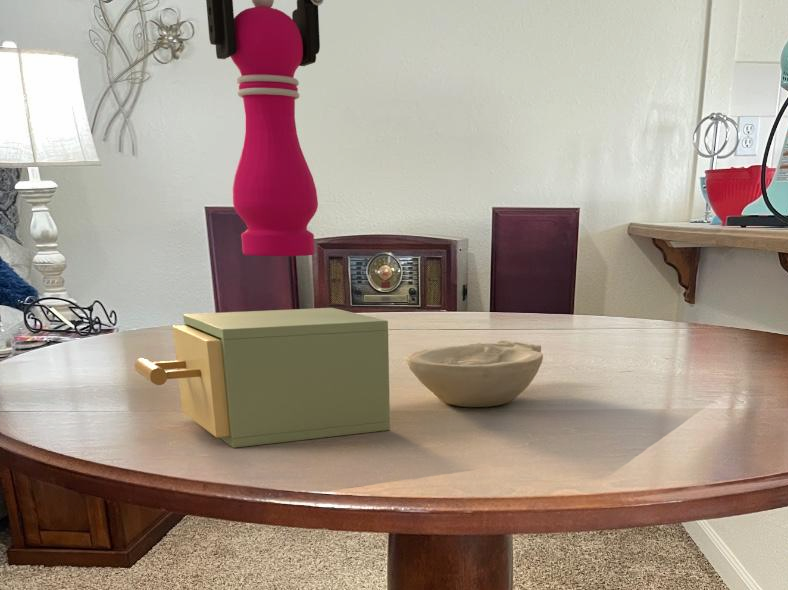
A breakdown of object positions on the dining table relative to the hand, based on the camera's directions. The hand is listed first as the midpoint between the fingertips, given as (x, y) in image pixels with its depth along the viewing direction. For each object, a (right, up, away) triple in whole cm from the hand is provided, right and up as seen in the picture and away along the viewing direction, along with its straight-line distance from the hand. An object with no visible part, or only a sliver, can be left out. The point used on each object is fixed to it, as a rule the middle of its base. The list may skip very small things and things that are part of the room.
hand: (266, 58), depth 72 cm
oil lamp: (+19, -22, +25) cm, 38 cm away
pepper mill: (0, -14, +6) cm, 15 cm away
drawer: (-3, -28, +8) cm, 29 cm away
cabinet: (0, -28, +10) cm, 30 cm away
